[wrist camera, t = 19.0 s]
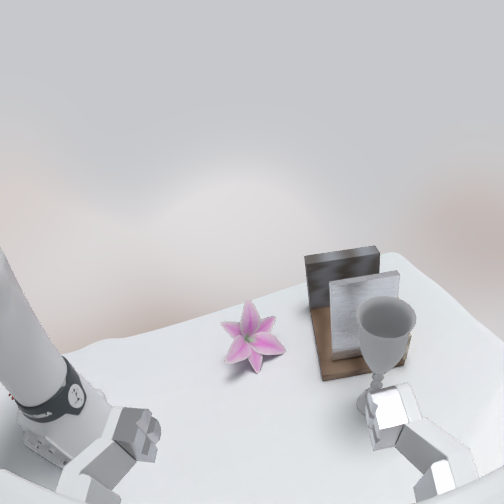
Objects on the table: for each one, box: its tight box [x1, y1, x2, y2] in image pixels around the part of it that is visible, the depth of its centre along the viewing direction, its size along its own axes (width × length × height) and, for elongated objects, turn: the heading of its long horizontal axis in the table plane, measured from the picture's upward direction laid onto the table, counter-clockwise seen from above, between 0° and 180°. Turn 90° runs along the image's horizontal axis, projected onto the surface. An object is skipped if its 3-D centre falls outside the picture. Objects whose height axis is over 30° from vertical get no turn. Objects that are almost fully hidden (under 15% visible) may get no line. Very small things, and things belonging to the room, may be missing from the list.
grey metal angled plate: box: [329, 270, 400, 360], centre depth 47 cm, size 11×9×15 cm
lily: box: [220, 298, 286, 374], centre depth 53 cm, size 12×12×10 cm
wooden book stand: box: [304, 246, 411, 381], centre depth 52 cm, size 14×20×12 cm
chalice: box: [357, 296, 416, 416], centre depth 36 cm, size 7×7×18 cm
